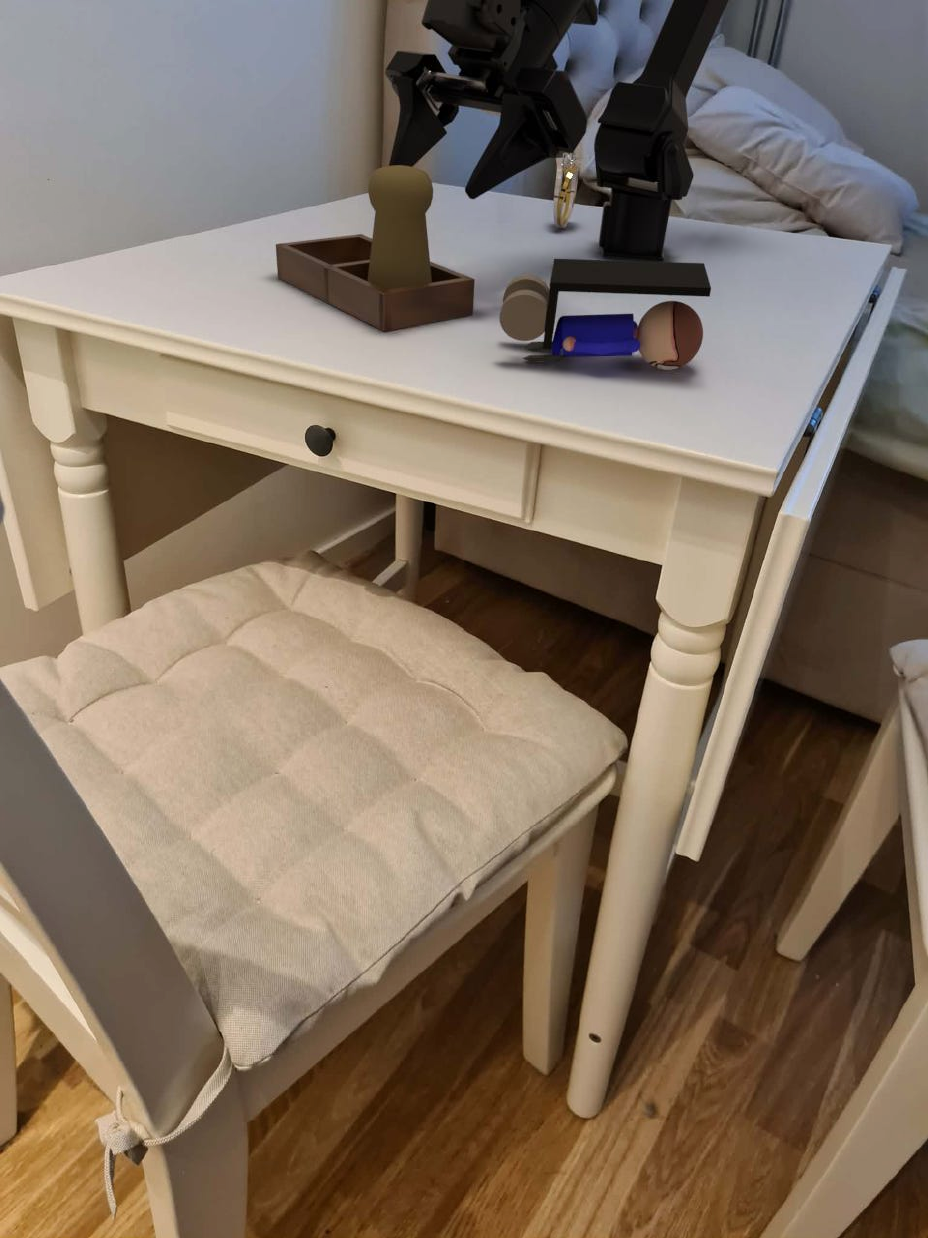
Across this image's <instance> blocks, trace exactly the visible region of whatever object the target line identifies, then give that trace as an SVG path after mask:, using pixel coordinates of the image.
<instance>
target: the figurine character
mask: <svg viewBox="0 0 928 1238" xmlns="http://www.w3.org/2000/svg"><path fill="white" fill-rule="evenodd" d="M560 292H567V293H591V294H592V293H593V294H594V293H595V294H596V293H598V294H621V295H622V294H624V295H625V294H626V295H652V296H678V297H679V296H680V297H683V296H684V297H709V298H710V297H711V292H712V286H711V282H710V278H709V275H708V272H707V269H706V265H705V263H704V262H678V261H677V262H674V261H673V262H672V261H647V260H613V259H612V260H611V259H609V260H608V259H582V258H581V259H580V258H579V259H576V258H553V263H552V269H551V275H550V279H549V285H548V284H547V283H546V281H545V280H544V279H542V278H540V277H538V276H537V275H533V274H522V275H518V276H516V277H514V278H513V279H512V280H511V281H509V283H507V285H506V287H505V290H504V293H503V296H502V305H501V308H500V311H499V318H498V319H499V324H500V327H501V329H502V330H503V332H504V333H505V334H506V335H507V336H508V337H509V338H511V339H513V340H515V341H520V342H529V341H531V342H529V343H527V344H526V345H524V348H526V349H528V350H530V351H551V354H529V355H527V356H525V357H523V358H522V359H523V360H525V361H527V362H529V363H531V362H533V363H534V362H560V361H562V360H565V359H566V358H591V357H593V358H595V357H597V358H598V357H630V356H633V355H634V353H637V352H639V354H640V356H641V357H642V359H643V360H644V361H645V362H646V363H647V364H649V365H650V366H652V367H653V368H656V369H659V370H664V371H670V370H676V369H680V368H682V367H683V366H686V365H687V364H689V363H690V362H691V361H692V360H693V359H694V358H695V357H696V355H698V353H699V351H700V349H701V347H702V343H703V339H704V327H703V323H702V320H701V318H700V316H699V314H698V313H697V312H696V311H695V309H694V308H693V307H692V306H690V305H688V304H687V303H684V302H681V301H678V300H666V301H662V302H659V303H657V304H655V305H653V306H652V307H650V308H649V309H648V310H647V311H646V312H645V313H644V314H643V315H642V317H641V319H640V320H639V322H637V321H635V319H634V317H635V316H634V313H609V314H608V313H606V314H573V315H572V314H571V315H561V316H560V317H559V318H558V319H557V322H556V315H557V308H558V307H557V306H558V301H559V293H560ZM555 324H556V326H555ZM542 335H544V336H543V341H535V340H536V339H538V338H540V337H541V336H542Z"/></svg>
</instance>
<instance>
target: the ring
mask: <svg viewBox="0 0 928 1238" xmlns="http://www.w3.org/2000/svg"><path fill="white" fill-rule="evenodd" d="M579 156H580V153H578V152H576V153H575V154H574V152H573V153H567V152H563V154H562V157H556V158H555V162H556V175H555V183H554V191H553V193H554V194H553V202H552V203H553V205H552V213H553V214H552V215H553V222H554V224H555V226H556V227H557V228H558V229H567V225H568V224H569V221H570V219H571V218H572V214H573V211H574V206H575V201H576V198H577V197H576V195H577V189H578V179H579V171H580V166H581V165H582V163H583V160H582V159H579ZM563 177H564V182H563ZM564 203H565V205H564ZM563 208H564V209H563Z"/></svg>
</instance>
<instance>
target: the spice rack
mask: <svg viewBox="0 0 928 1238" xmlns="http://www.w3.org/2000/svg"><path fill="white" fill-rule="evenodd" d="M372 238H373V237H370V236H366V235H364V234H361V233H360V234H349V235H341V236H332V237H325V238H317V239H308V240H299V241H289V242H282V243H276V244H275V257H276V269H277V270H276V271H277V279H278V280H281V281H283V282H285V283H287V284H289V285H291V286H293V287H295V288H297V289H299V290H300V291H303V292H305V293H306V294H308V295H311V296H313V297H315V298H317V299H319V300H321V301H323V302H325V303H326V304H329V305H331V306H332V307H335V308H336V309H338V310H341V311H343V312H345V313H346V314H349V315H350V316H353V317H354V318H357V319H359V320H361V321H362V322H364V323H367V324H369V325H370V326H373V327H374V328H376V329H377V330H380V331H382V332H390V331H395V330H400V329H404V328H405V329H406V328H412V327H415V326H416V327H417V326H421V325H427V324H433V323H438V322H442V321H447V320H448V321H449V320H453V319H457V318H464V317H468V316H473V315H474V303H475V301H474V300H475V285H476V284H475V283H476V279H475V278H473V277H471V276H469V275H465V274H463V273H461V272H458V271H456V270H453V269H450V268H448V267H445V266H442V265H440V264H438V263H435V262H433V261H430V267H431V277H432V283H428V284H421V285H415V286H409V287H403V288H396V289H390V290H385V289H383V288H381V287H378V286H376V285H374V284H372V283H370V282H368V273H369V264H370V255H371V247H372Z"/></svg>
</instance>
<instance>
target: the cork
mask: <svg viewBox="0 0 928 1238" xmlns="http://www.w3.org/2000/svg"><path fill="white" fill-rule="evenodd" d="M367 187H368V192H367V193H368V197H369V203H370V205H371V206H372V208H373V209H374V213H375V214H374V220H373V221H374V222H373V231H372V237H371V238H372V247H371V255H370V264H369V273H368V282H370V283H372V284H374V285H376V286H378V287H381V288H383V289H385V290H390V289H396V288H403V287H409V286H415V285H421V284H428V283H432V277H431V267H430V262H431V258H430V247H429V237H428V236H429V235H428V228H427V227H428V226H427V225H428V224H427V215H426V213H427V212H428V210H429V209H430V207H431V206H432V203H433V200H434V186H433V181H432V179H431V178H430V175H429V174H428V173H427V172H426V171H425V170H423V169H421V168H417V167H414V166H413V167H410V166H403V165H394V166H389V165H388V166H383V167H379V168H377V169H376V170H374V171H373V172H372V174H371V175H370V177H369V179H368V185H367Z"/></svg>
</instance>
